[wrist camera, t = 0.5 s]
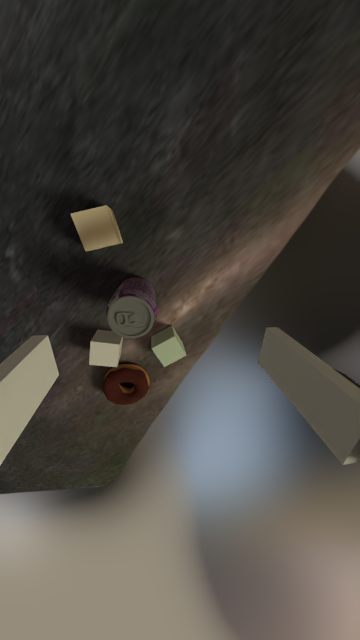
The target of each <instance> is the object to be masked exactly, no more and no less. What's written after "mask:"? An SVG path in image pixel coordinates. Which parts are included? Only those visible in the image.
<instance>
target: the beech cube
mask: <svg viewBox="0 0 360 640" xmlns="http://www.w3.org/2000/svg"><path fill="white" fill-rule="evenodd" d="M71 217H72V219H73V222H74V224H75V227H76V229H77V232H78V234H79V236H80V239H81V241H82V244H83V246H84V249H85V251H90V250H96V249H100V248H104V247H108V246H112V245H116V244H120V243H123V241H122V238H121V235H120V232H119V229H118V226H117V223H116V219H115V216H114V213H113V210H112V209H110V208H109V207H108V206H106V205H105V206H101V207H97V208H92V209H88V210H84V211H79V212H75V213H71Z"/></svg>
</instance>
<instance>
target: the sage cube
mask: <svg viewBox="0 0 360 640" xmlns="http://www.w3.org/2000/svg"><path fill="white" fill-rule="evenodd" d="M151 349H152V350H153V352H154V353H155V354H156V356H157V357H158V359H159V360H160V361H161V363H162V364H163V366H164V367H165V366H167V365H169V364H171V363H173V362H175V361H177V360H179V359H181V358H182V357H184V356H186V352H185V349H184V346H183V343H182V341H181V340H180V338H179V336H178V335H177V333H176V331H175V330H174V328H173V326H170V327H168V328H166V329H164V330H163V331H161V332H159V333H157V334H155V335H153V336H152V337H151Z"/></svg>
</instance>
